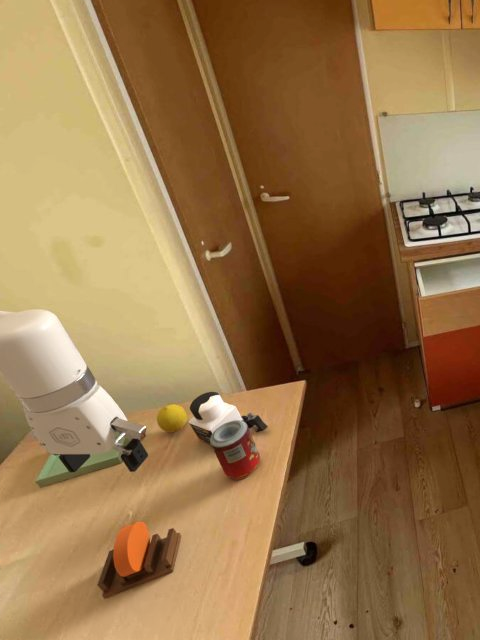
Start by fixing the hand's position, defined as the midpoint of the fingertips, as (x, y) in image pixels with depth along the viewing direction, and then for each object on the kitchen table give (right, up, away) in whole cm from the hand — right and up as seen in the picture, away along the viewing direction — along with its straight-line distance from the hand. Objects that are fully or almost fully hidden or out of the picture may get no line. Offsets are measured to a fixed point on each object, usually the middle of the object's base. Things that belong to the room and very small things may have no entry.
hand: (110, 464), depth 70 cm
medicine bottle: (-5, -9, +34) cm, 36 cm away
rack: (-2, -23, +8) cm, 24 cm away
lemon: (-17, -9, +35) cm, 40 cm away
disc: (-2, -18, +6) cm, 19 cm away
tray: (-32, -12, +29) cm, 45 cm away
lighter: (+2, -9, +35) cm, 37 cm away
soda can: (+6, -14, +26) cm, 30 cm away
